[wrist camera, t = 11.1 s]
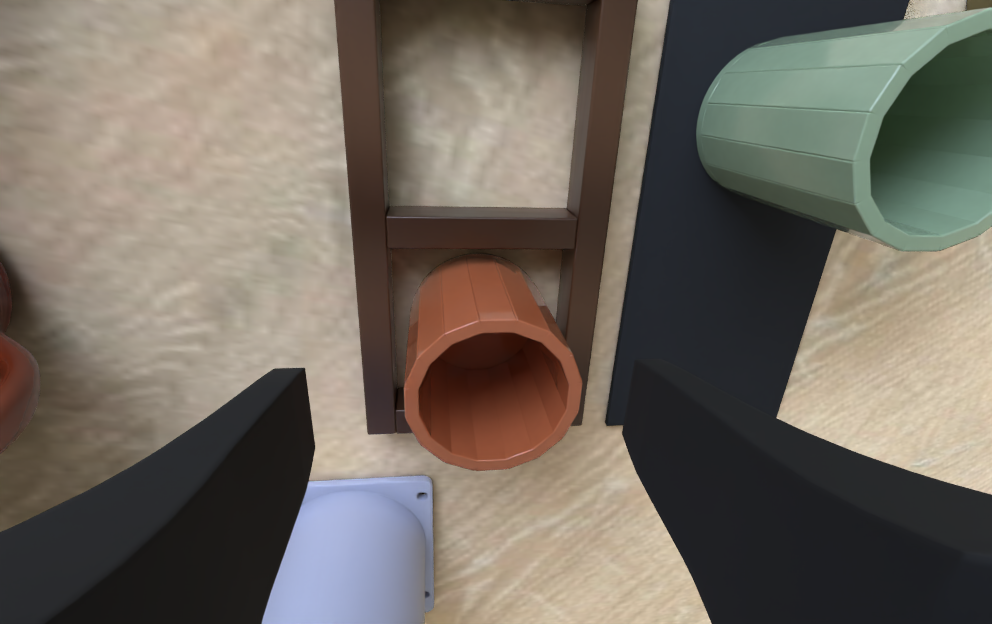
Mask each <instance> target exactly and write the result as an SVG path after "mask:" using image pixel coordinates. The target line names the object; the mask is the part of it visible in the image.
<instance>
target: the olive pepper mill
mask: <svg viewBox="0 0 992 624" xmlns="http://www.w3.org/2000/svg"><path fill="white" fill-rule="evenodd" d="M989 7H992V0H967V11H968V10H975V9H982V8H989Z"/></svg>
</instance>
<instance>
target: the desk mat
mask: <svg viewBox="0 0 992 624" xmlns="http://www.w3.org/2000/svg"><path fill="white" fill-rule="evenodd" d="M908 3H909V0H670V6H669V12H668V19H667V25H666V32H665V38H664V45H663V51H662V58H661V64H660V70H659V77H658V83H657V90H656V96H655V103H654V109H653V116H652V122H651V129H650V135H649V142H648V148H647V155H646V161H645V168H644V174H643V181H642V187H641V194H640V200H639V207H638V213H637V219H636V226H635V232H634V239H633V245H632V252H631V258H630V265H629V271H628V278H627V284H626V291H625V297H624V304H623V310H622V317H621V323H620V330H619V336H618V343H617V349H616V355H615V362H614V368H613V375H612V381H611V388H610V394H609V401H608V407H607V414H606V420H605V423H606V425H607V426H615V425H624V420H625V414H626V408H627V402H628V397H629V391H630V385H631V379H632V374H633V368H634V362H635V359H662V360H665V361H667V362H670V363H672V364H674V365H676V366H678V367H680V368H682V369H684V370H686V371H688V372H690V373H691V374H693V375H695V376H697V377H699V378H701V379H703V380H704V381H706V382H708V383H710V384H712V385H714V386H715V387H717V388H719V389H721V390H723V391H725V392H726V393H728V394H730V395H732V396H734V397H736V398H738V399H739V400H741V401H743V402H745V403H747V404H749V405H751V406H753V407H755V408H757V409H759V410H761V411H763V412H765V413H767V414H769V415H771V416H773V417H775V418H776V417H777V414H778V411H779V407H780V404H781V401H782V398H783V395H784V392H785V389H786V385H787V382H788V379H789V376H790V373H791V370H792V367H793V364H794V360H795V357H796V354H797V351H798V348H799V345H800V342H801V338H802V335H803V332H804V329H805V326H806V323H807V320H808V316H809V313H810V310H811V307H812V304H813V301H814V298H815V295H816V291H817V288H818V285H819V282H820V279H821V276H822V273H823V269H824V266H825V263H826V260H827V257H828V254H829V251H830V248H831V244H832V241H833V238H834V235H835V232H836V229H835V228H832V227H829V226H826V225H823V224H821V223H818V222H815V221H812V220H809V219H806V218H803V217H800V216H798V215H795V214H792V213H789V212H786V211H783V210H780V209H777V208H774V207H772V206H769V205H766V204H763V203H760V202H757V201H754V200H751V199H749V198H746V197H743V196H740V195H739V194H737V193H734V192H732V191H729V190H727V189H725V188H723V187H722V186H720V185H718V184H717V183H716V182H715V181H714V180H713V179H712V178H711V177H710V176H709V174H708V173H707V172H706V170H705V168H704V167H703V165H702V162H701V160H700V157H699V153H698V149H697V142H696V127H697V120H698V115H699V111H700V108H701V105H702V102H703V99H704V97H705V95H706V93H707V91H708V89H709V87H710V86H711V84H712V82H713V81H714V79H715V78H716V77H717V75H718V74H719V73H720V71H721V70H722V69H723V68H724V67H725V66H726V65H727V64H728V63H729V62H730V61H731V60H732V59H734V58H735V57H736V56H737V55H738V54H740V53H742V52H743V51H745V50H746V49H748V48H750V47H752V46H754V45H756V44H759V43H762V42H765V41H770V40H774V39H777V38H780V37H786V36H793V35H800V34H807V33H814V32H821V31H828V30H835V29H842V28H849V27H856V26H863V25H870V24H877V23H884V22H891V21H898V20H903V19H904V16H905V13H906V9H907V6H908Z"/></svg>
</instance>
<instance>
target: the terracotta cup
mask: <svg viewBox="0 0 992 624" xmlns="http://www.w3.org/2000/svg"><path fill="white" fill-rule="evenodd" d="M581 391H582V378H581V375H580V373H579V370H578V367H577V364H576V361H575V358H574V355H573V353H572V351H571V350H570V348H569V346H568V344H567V342H566V340H565V338H564V337H563V335H562V333H561V331H560V329H559V327H558V326H557V324H556V322H555V320H554V318H553V316H552V314H551V313H550V311H549V309H548V307H547V305H546V303H545V301H544V300H543V298H542V296H541V294H540V292H539V290H538V288H537V287H536V285H535V284H534V283H533V282H532V280H531V279H530V277H529V276H528V275H527V274H526V273H525V272H524V271H523V270H522V269H521V268H520V267H518V266H517V265H515V264H514V263H512V262H510V261H508V260H506V259H504V258H501V257H498V256H495V255H490V254H467V255H462V256H459V257H455V258H452V259H450V260H448V261H446V262H444V263H442V264H441V265H439V266H438V267H436V268H435V269H434V270H433V271H431V272H430V273H429V274H428V275H427V276H426V278H425V279H424V280H423V281H422V283H421V284H420V286H419V288H418V289H417V291H416V293H415V296H414V299H413V303H412V307H411V310H410V320H409V332H408V344H407V356H406V368H405V380H404V408H405V418H406V421H407V422H408V424H409V426H410V428H411V430H412V431H413V433H414V435H415V437H416V439H417V440H418V442H419V443H420V445H421V446H423V447H424V448H425V449H427V450H428V451H429V452H431V453H432V454H433V455H435V456H436V457H437V458H439V459H440V460H442V461H443V462H445V463H448V464H452V465H455V466H459V467H462V468H466V469H470V470H473V471H475V470H476V471H485V470H504V469H507V468H508V469H510V468H512V467H515V466H518V465H520V464H523V463H526V462H528V461H531V460H534V459H536V458H538V457H540V456H541V455H542V454H544V453H545V452H546V451H547V450H549V449H550V448H551V447H552V446H554V445H555V444H556V443H557V442H559V441H560V440H561V439H562V438H563V437H564V436H565V434H566V432H567V431H568V429H569V427H570V426H571V424H572V422H573V421H574V419H575V417H576V416H577V414H578V411H579V407H580V399H581Z"/></svg>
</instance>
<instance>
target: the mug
mask: <svg viewBox="0 0 992 624" xmlns="http://www.w3.org/2000/svg"><path fill="white" fill-rule="evenodd" d="M11 313H12V293H11V287H10V283H9V279H8V276H7V272H6V270H5V268H4V266H3V264H2V262H1V261H0V454H1V453H3V452H4V451H5V450H6V449H7V448H8V447H9V446H10V445H11V444H12V443H13V442H14V441H15V440H16V439H17V438H18V436H19V435H20V434H21V433H22V432H23V431H24V429H25V428H26V427H27V425H28V424H29V422H30V421H31V419H32V417H33V415H34V413H35V411H36V408H37V405H38V402H39V397H40V386H41V379H40V371H39V366H38V364H37V361H36V359H35V357H34V356H33V355H32V354H31V353H30V352H29V351H28V350H27V349H26V348H24V347H23V346H22V345H20V344H19V343H17V342H16V341H14V340H13V339H11V338H10V337H8V336H7V335H6V334H4V333H5V332H6V330H7V328H8V325H9V322H10V318H11Z"/></svg>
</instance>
